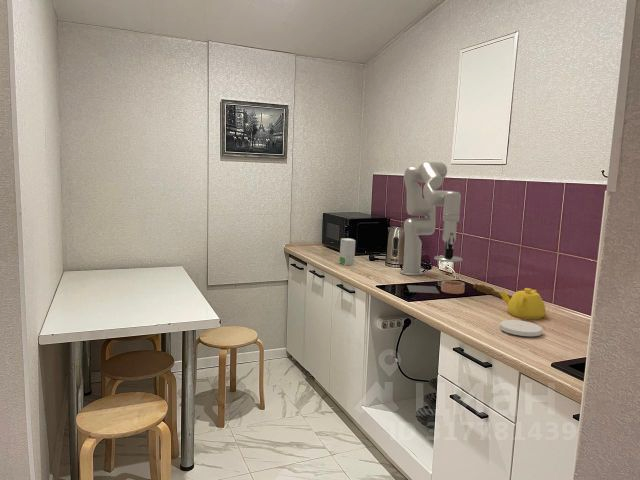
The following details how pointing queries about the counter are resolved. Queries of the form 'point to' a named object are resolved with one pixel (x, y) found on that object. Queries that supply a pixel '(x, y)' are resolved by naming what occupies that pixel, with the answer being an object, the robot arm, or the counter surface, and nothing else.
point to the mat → (422, 289)
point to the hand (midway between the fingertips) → (448, 256)
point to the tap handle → (488, 290)
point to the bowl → (453, 287)
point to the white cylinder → (347, 251)
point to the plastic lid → (521, 328)
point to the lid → (448, 258)
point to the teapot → (525, 304)
